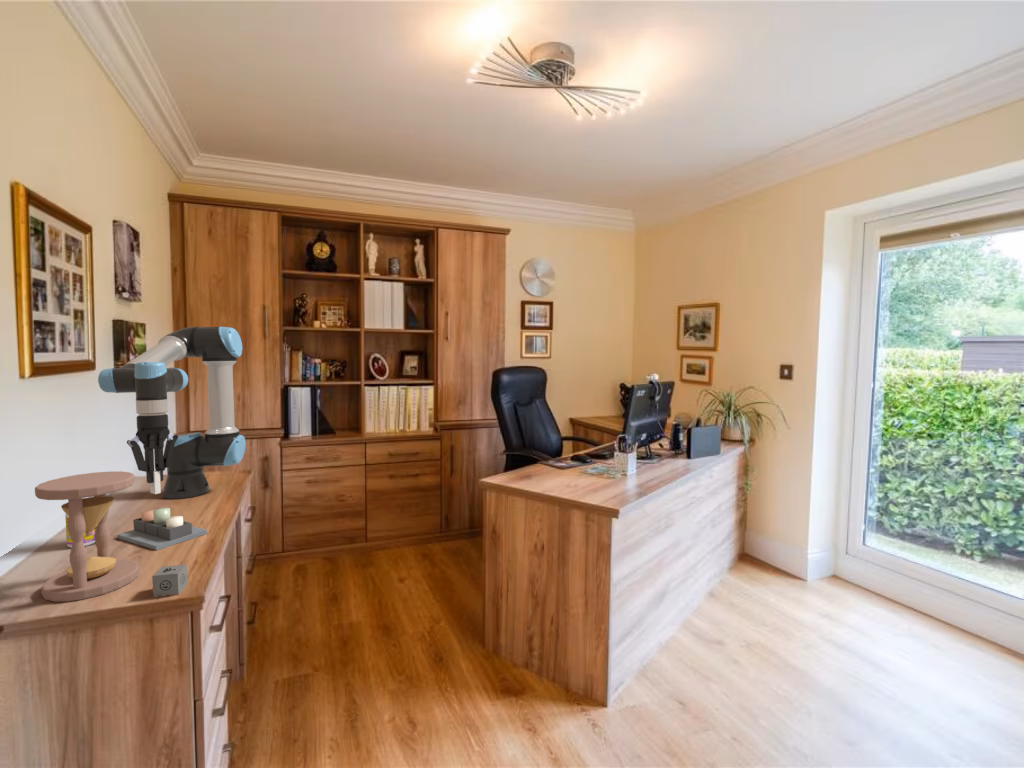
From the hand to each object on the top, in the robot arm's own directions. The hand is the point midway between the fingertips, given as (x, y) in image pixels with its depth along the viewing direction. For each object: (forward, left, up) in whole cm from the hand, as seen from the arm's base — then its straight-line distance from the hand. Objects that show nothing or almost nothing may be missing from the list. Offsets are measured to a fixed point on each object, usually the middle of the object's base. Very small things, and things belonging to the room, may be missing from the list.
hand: (155, 492), depth 146 cm
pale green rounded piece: (-1, +2, -10) cm, 10 cm away
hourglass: (+24, +20, -13) cm, 34 cm away
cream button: (-1, +8, -11) cm, 14 cm away
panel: (-1, +2, -13) cm, 13 cm away
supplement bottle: (+13, -12, -13) cm, 22 cm away
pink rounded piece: (-1, -5, -11) cm, 12 cm away
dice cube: (+18, +40, -13) cm, 46 cm away
